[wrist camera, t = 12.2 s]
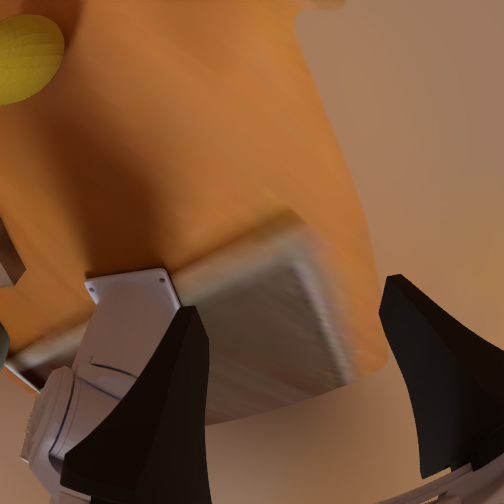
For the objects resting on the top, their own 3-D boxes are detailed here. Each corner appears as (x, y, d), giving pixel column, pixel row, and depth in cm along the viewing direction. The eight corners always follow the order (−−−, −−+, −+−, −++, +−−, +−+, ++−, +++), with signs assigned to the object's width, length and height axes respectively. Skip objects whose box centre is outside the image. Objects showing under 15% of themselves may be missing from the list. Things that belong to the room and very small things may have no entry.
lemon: (18, 49, 10) (-60, 60, 4) (76, 5, 10) (0, -12, 3) (35, 108, 13) (-44, 140, 7) (94, 68, 13) (14, 76, 6)
